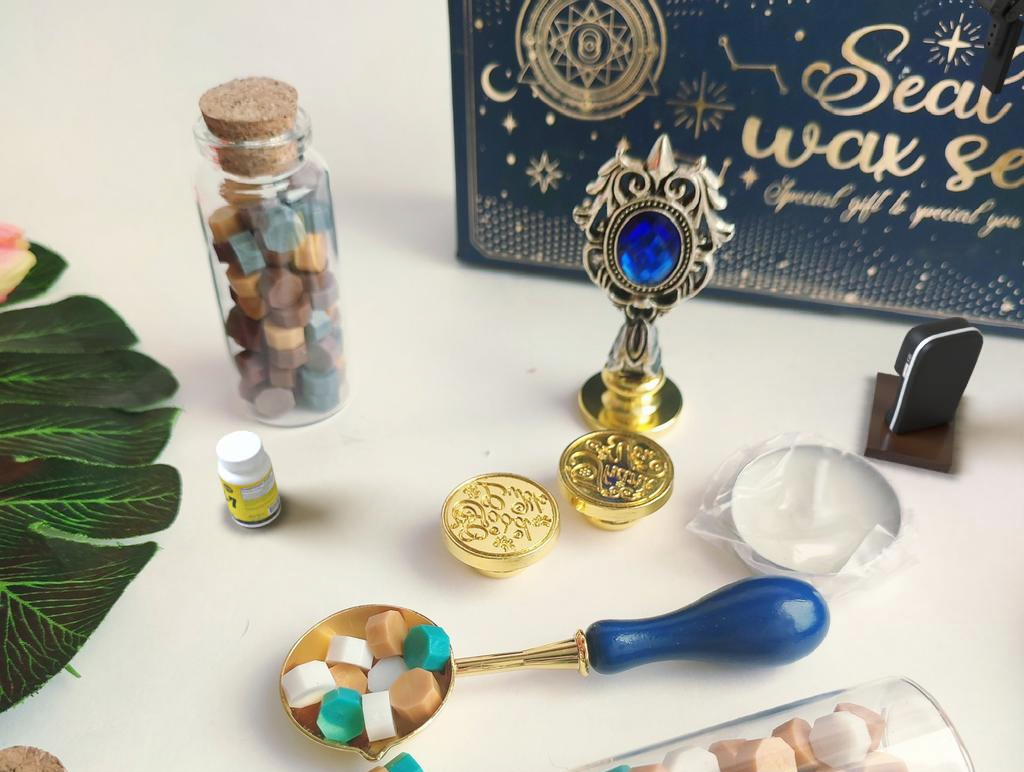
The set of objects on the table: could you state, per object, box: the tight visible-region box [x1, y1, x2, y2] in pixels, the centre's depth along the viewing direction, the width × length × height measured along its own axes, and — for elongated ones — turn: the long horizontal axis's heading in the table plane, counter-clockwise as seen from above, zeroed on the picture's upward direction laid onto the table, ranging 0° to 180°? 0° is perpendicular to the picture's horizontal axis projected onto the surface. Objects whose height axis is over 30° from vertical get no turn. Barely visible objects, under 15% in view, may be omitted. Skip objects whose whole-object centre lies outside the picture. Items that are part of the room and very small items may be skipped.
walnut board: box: [863, 371, 956, 474], centre depth 108 cm, size 12×8×1 cm, turn 162°
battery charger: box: [884, 316, 984, 434], centre depth 103 cm, size 7×4×11 cm, turn 108°
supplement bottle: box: [216, 430, 282, 528], centre depth 98 cm, size 5×5×8 cm
